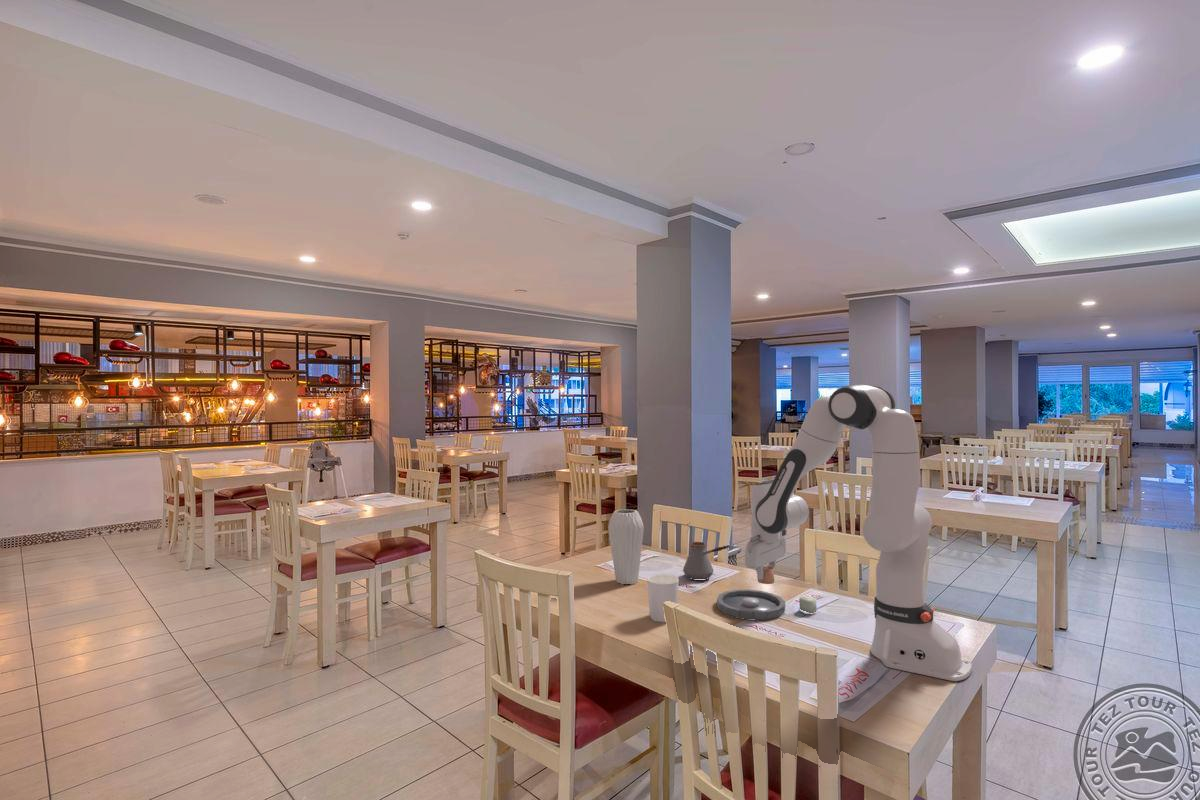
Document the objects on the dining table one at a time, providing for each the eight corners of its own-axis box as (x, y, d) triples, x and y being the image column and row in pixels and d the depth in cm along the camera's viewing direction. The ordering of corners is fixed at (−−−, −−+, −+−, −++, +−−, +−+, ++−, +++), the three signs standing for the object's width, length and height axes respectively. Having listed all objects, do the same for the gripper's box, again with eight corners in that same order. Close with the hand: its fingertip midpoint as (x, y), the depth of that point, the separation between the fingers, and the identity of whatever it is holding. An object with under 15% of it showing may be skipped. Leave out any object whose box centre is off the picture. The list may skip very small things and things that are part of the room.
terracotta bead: (777, 581, 179) (776, 568, 179) (769, 585, 175) (769, 572, 175) (762, 577, 182) (762, 565, 182) (754, 581, 179) (754, 569, 179)
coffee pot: (676, 577, 216) (676, 538, 216) (697, 571, 223) (696, 533, 223) (720, 591, 199) (720, 548, 199) (741, 584, 206) (740, 543, 207)
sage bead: (819, 611, 179) (818, 598, 179) (812, 615, 175) (812, 602, 175) (803, 607, 182) (803, 595, 182) (797, 612, 178) (796, 599, 178)
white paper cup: (654, 625, 170) (653, 585, 170) (643, 613, 179) (642, 575, 179) (684, 621, 172) (683, 581, 172) (672, 610, 182) (671, 572, 182)
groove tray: (796, 606, 183) (796, 599, 183) (764, 626, 168) (764, 617, 168) (738, 592, 197) (738, 585, 197) (704, 609, 182) (704, 601, 182)
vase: (645, 587, 205) (644, 514, 205) (609, 587, 205) (607, 515, 205) (643, 576, 218) (642, 507, 218) (609, 576, 218) (608, 508, 219)
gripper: (758, 540, 169) (758, 586, 169) (789, 528, 184) (789, 571, 184) (739, 536, 173) (739, 582, 173) (771, 525, 188) (771, 567, 188)
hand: (765, 576), depth 179 cm, fingers closed on terracotta bead, 5 cm apart
